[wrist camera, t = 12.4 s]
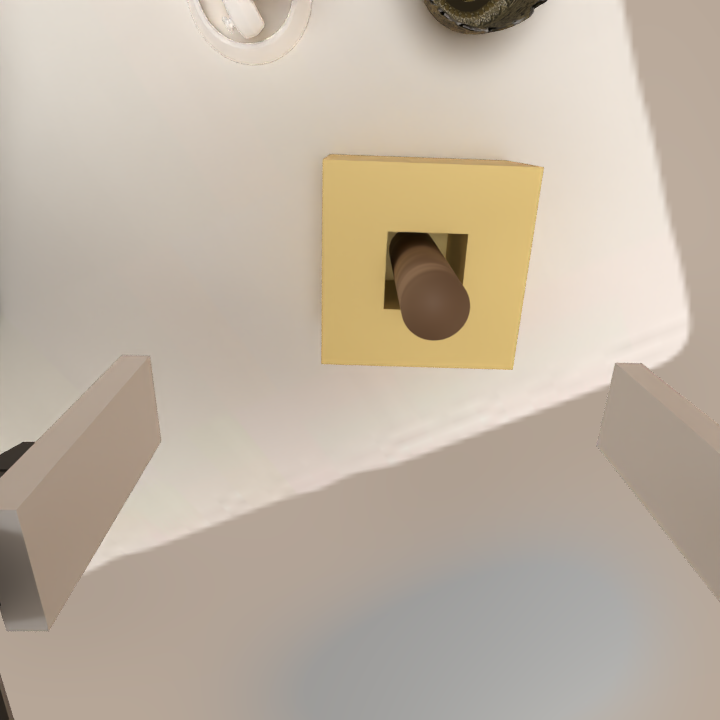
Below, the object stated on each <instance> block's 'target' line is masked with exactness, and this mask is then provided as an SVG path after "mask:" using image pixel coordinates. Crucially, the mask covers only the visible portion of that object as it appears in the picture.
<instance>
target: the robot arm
mask: <svg viewBox="0 0 720 720" xmlns="http://www.w3.org/2000/svg"><path fill="white" fill-rule="evenodd" d="M160 443H161V435H160V428H159V421H158V413H157V406H156V398H155V391H154V383H153V376H152V368H151V361H150V356H141V355H121V356H120V358H119V359H118V360H117V361H116V362H115V363H114V364H113V365H112V366H111V367H110V368H109V369H108V370H107V371H106V372H105V373H104V374H103V375H102V376H101V377H100V378H99V379H98V380H97V381H96V382H95V383H94V384H93V385H92V386H91V387H90V388H89V389H88V390H87V391H86V392H85V393H84V394H83V395H82V396H81V397H80V398H79V399H78V400H77V401H76V402H75V403H74V404H73V405H72V406H71V407H70V408H69V409H68V410H67V411H66V412H65V413H64V414H63V415H62V416H61V417H60V418H59V419H58V420H57V421H56V422H55V423H54V424H53V425H52V426H51V427H50V428H49V429H48V430H47V431H46V432H45V433H44V434H43V435H42V436H41V437H40V438H39V439H38V440H37V441H36V442H22V443H21V444H19V445H17V446H15V447H13V448H11V449H10V450H8V451H6V452H4V453H2V454H1V455H0V611H1V614H2V618H3V621H4V624H5V627H6V630H7V631H49V630H50V628H51V627H52V625H53V624H54V622H55V620H56V618H57V617H58V615H59V613H60V612H61V610H62V608H63V607H64V605H65V603H66V601H67V600H68V598H69V597H70V595H71V593H72V592H73V590H74V588H75V586H76V585H77V583H78V581H79V580H80V578H81V576H82V575H83V573H84V571H85V570H86V568H87V566H88V564H89V563H90V561H91V559H92V558H93V556H94V554H95V553H96V551H97V549H98V548H99V546H100V544H101V542H102V541H103V539H104V537H105V536H106V534H107V532H108V531H109V529H110V527H111V526H112V524H113V522H114V520H115V519H116V517H117V515H118V514H119V512H120V510H121V509H122V507H123V505H124V504H125V502H126V500H127V498H128V497H129V495H130V493H131V492H132V490H133V488H134V487H135V485H136V483H137V482H138V480H139V478H140V476H141V475H142V473H143V471H144V470H145V468H146V466H147V465H148V463H149V461H150V460H151V458H152V456H153V454H154V453H155V451H156V449H157V448H158V446H159V444H160ZM596 446H597V447H598V449H599V450H600V451H601V453H602V454H603V455H604V456H605V458H606V459H607V460H608V461H609V463H610V464H611V465H612V466H613V468H614V469H615V470H616V472H617V473H618V474H619V475H620V477H621V478H622V479H623V480H624V481H625V483H626V484H627V485H628V487H629V488H630V489H631V490H632V492H633V493H634V494H635V496H636V497H637V498H638V499H639V501H640V502H641V503H642V504H643V506H644V507H645V508H646V509H647V511H648V512H649V513H650V515H651V516H652V517H653V518H654V520H655V521H656V522H657V523H658V525H659V526H660V527H661V528H662V530H663V531H664V532H665V534H666V535H667V536H668V537H669V538H670V540H671V541H672V542H673V544H674V545H675V546H676V547H677V549H678V550H679V551H680V552H681V554H682V555H683V556H684V558H685V559H686V560H687V561H688V563H689V564H690V565H691V566H692V568H693V569H694V570H695V571H696V573H697V574H698V575H699V576H700V578H701V579H702V580H703V582H704V583H705V584H706V585H707V587H708V588H709V589H710V590H711V592H712V593H713V594H714V596H715V597H716V598H717V599H718V601H719V602H720V425H719V424H718V423H716V422H715V421H714V420H713V419H711V418H710V417H709V416H707V415H706V414H705V413H703V412H702V411H701V410H700V409H698V408H697V407H696V406H695V405H693V404H692V403H691V402H690V401H689V400H687V399H686V398H685V397H683V396H682V395H681V394H680V393H678V392H677V391H676V390H675V389H673V388H672V387H671V386H670V385H668V384H667V383H666V382H665V381H663V380H662V379H661V378H660V377H658V376H657V375H656V374H654V373H653V372H652V371H651V370H649V369H648V368H647V367H646V366H644V365H643V364H642V363H615V366H614V371H613V375H612V379H611V384H610V388H609V392H608V397H607V401H606V406H605V410H604V415H603V419H602V423H601V428H600V432H599V436H598V440H597V445H596ZM0 720H14V718H13V715H12V711H11V708H10V705H9V701H8V698H7V695H6V692H5V688H4V685H3V682H2V678H1V675H0Z"/></svg>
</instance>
